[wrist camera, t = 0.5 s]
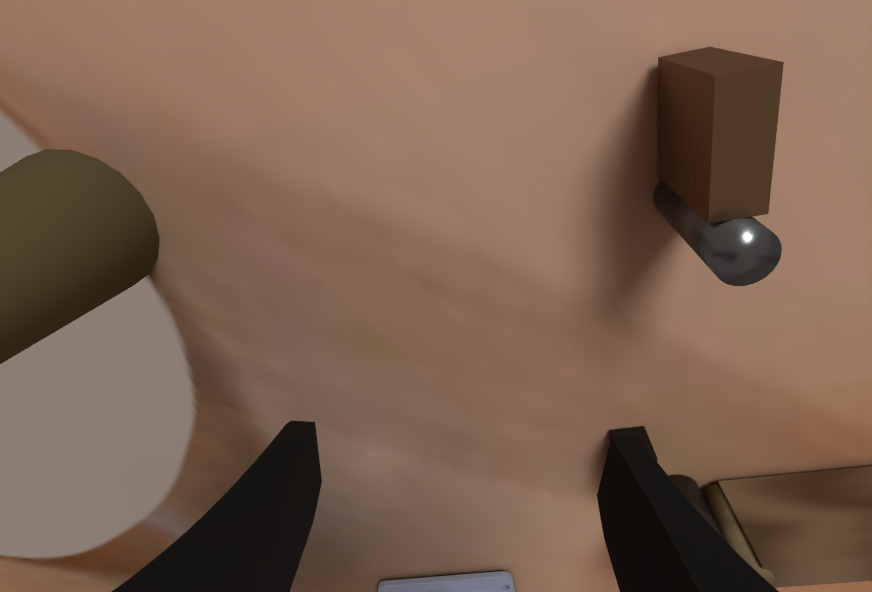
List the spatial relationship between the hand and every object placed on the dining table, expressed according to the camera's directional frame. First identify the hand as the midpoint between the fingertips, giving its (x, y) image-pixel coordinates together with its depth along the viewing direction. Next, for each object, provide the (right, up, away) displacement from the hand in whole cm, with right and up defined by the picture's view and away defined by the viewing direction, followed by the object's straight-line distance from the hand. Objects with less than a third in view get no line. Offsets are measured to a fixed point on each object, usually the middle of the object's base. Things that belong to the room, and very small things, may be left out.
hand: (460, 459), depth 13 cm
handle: (+19, -5, +13) cm, 23 cm away
